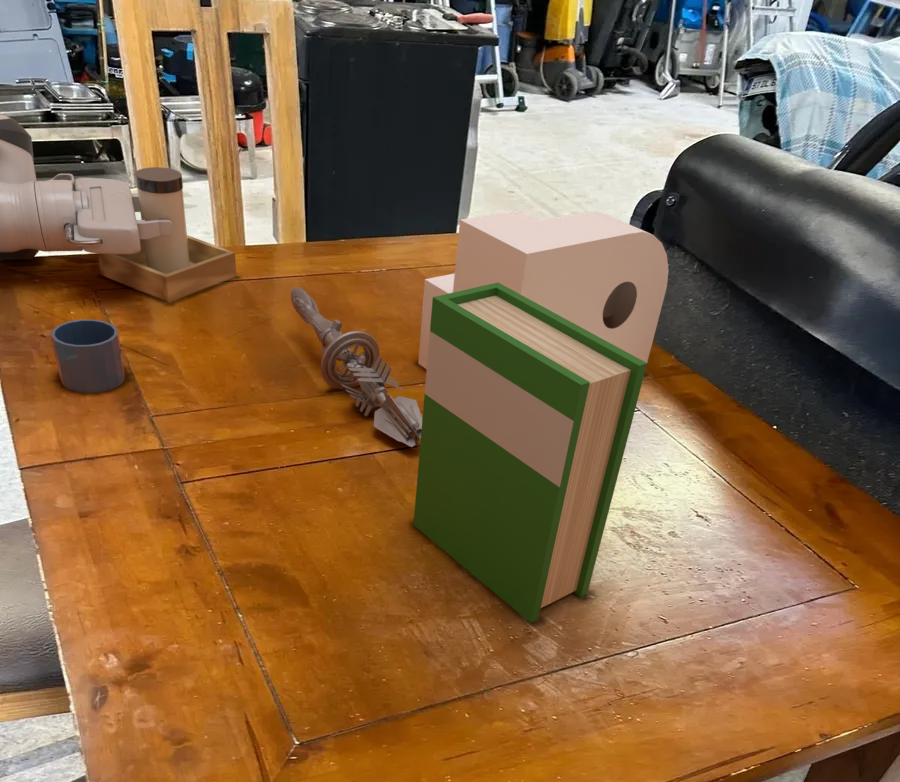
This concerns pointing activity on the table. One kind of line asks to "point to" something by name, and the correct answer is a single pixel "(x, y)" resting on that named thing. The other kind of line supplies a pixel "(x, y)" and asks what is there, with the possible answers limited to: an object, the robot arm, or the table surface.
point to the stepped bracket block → (564, 272)
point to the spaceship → (361, 373)
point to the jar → (163, 200)
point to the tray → (203, 272)
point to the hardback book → (521, 443)
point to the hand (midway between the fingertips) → (169, 215)
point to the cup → (88, 355)
